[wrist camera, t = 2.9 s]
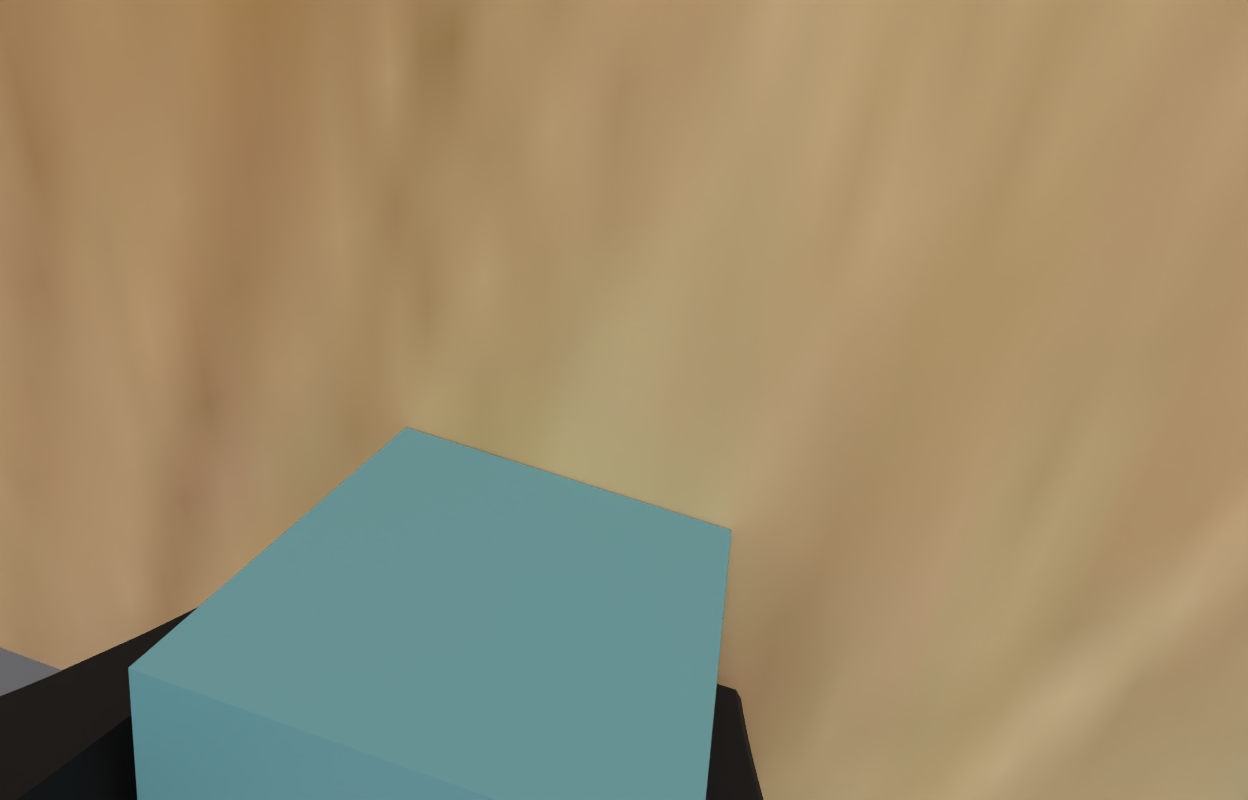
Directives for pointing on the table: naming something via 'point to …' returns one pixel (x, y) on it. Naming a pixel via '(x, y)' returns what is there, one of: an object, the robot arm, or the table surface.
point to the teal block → (446, 646)
